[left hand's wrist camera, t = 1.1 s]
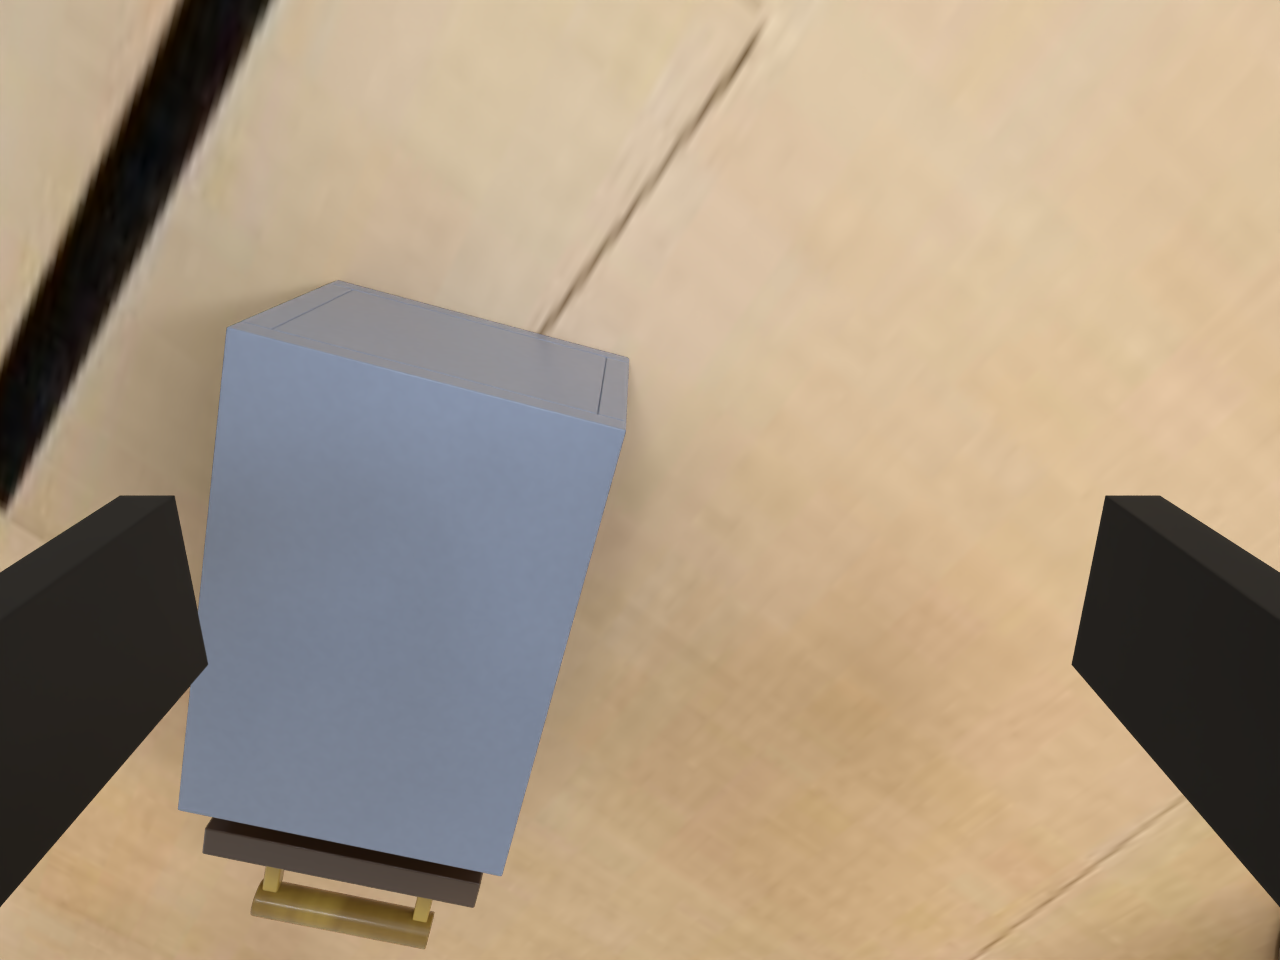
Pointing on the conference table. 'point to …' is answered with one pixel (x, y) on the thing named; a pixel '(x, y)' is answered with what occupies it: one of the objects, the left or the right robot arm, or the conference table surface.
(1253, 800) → the left robot arm
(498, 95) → the conference table surface
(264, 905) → the drawer
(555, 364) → the cabinet
